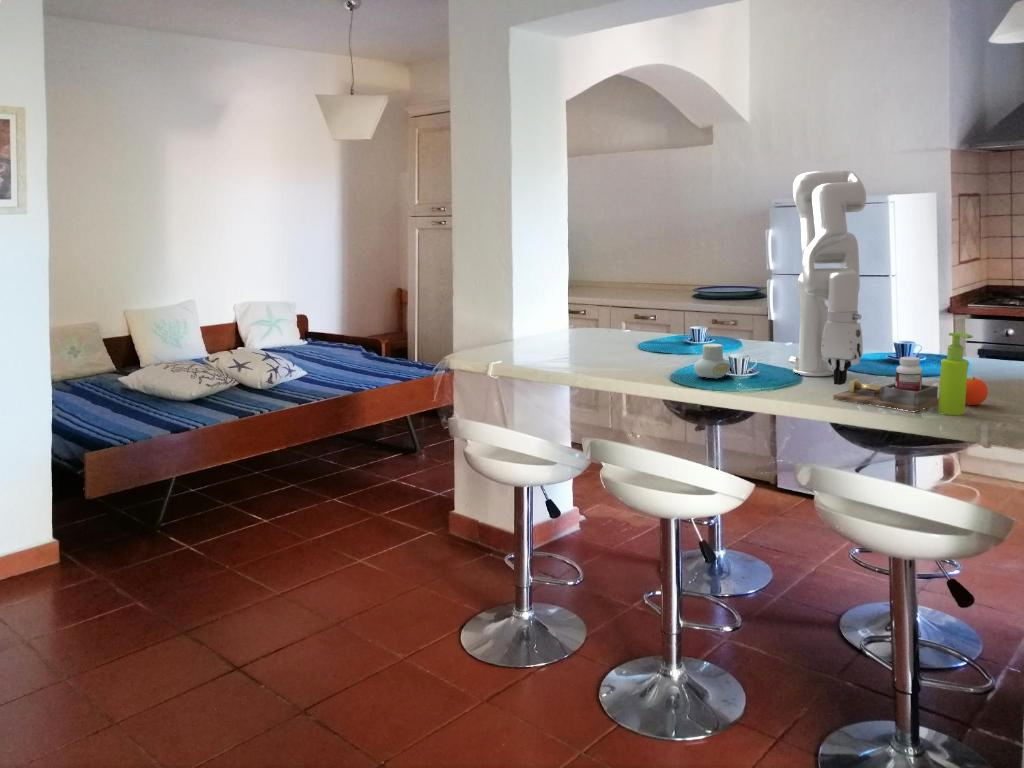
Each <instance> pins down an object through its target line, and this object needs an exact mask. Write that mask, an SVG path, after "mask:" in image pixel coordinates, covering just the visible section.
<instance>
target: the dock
mask: <svg viewBox="0 0 1024 768" xmlns="http://www.w3.org/2000/svg"><path fill="white" fill-rule="evenodd" d="M882 386H883V385H882ZM938 388H939V387H938V385H937V386H936V385H931V384H930V385H929V384H923V383H922V386H921V390H920V391H917V392H915V391H908V390H902V389H895V382H894V383H891V384H886V385H884V386H883V387H881V388H880V394H879V393H876V391H870V390H863V389H861V390H859V391H856V392H850V389H849V390H846V391H843V392H842V391H841V392H839V393H836V394H835V393H834V394H833V396H832V397H833V398H832V399H833V400H835V399H839V400H838V401H841V400H846V401H845V402H847V401H851V402H850V403H853V402H857V403H856V404H858V403H863V404H862V405H864V404H871V405H879V406H885V407H891V408H896V409H897V408H898V409H903V410H908V411H916V410H919V411H921V410H920V409H922V410H924V409H923V408H925V409H927V407H928V408H931V407H933V405H934V406H936V405H939V397H938V394H939V393H938V391H939V390H938ZM930 406H931V407H930Z"/></svg>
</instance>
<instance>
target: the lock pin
mask: <svg viewBox="0 0 1024 768" xmlns="http://www.w3.org/2000/svg"><path fill="white" fill-rule="evenodd" d="M860 381H861V380H860V379H858V378H855V379H852V380H851V379H850V380H849V390H850V392H856V391H859V390H861V389H863V390H870V391H876V393H879V394H880V388H881V387H883V385H877V384H870V383H865V382H864V383H862V382H860Z"/></svg>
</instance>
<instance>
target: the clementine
mask: <svg viewBox="0 0 1024 768" xmlns="http://www.w3.org/2000/svg"><path fill="white" fill-rule="evenodd" d="M988 394H989V388H988V386H987V384H986V383H985V381H983V380H982V379H980V378H975V377H972V378H971V377H970V378H969V377H967V385H966V399H965V405H968V406H977V405H980V404H982V403H984V402H985V401H986V399H987V398H988V396H989V395H988Z"/></svg>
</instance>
